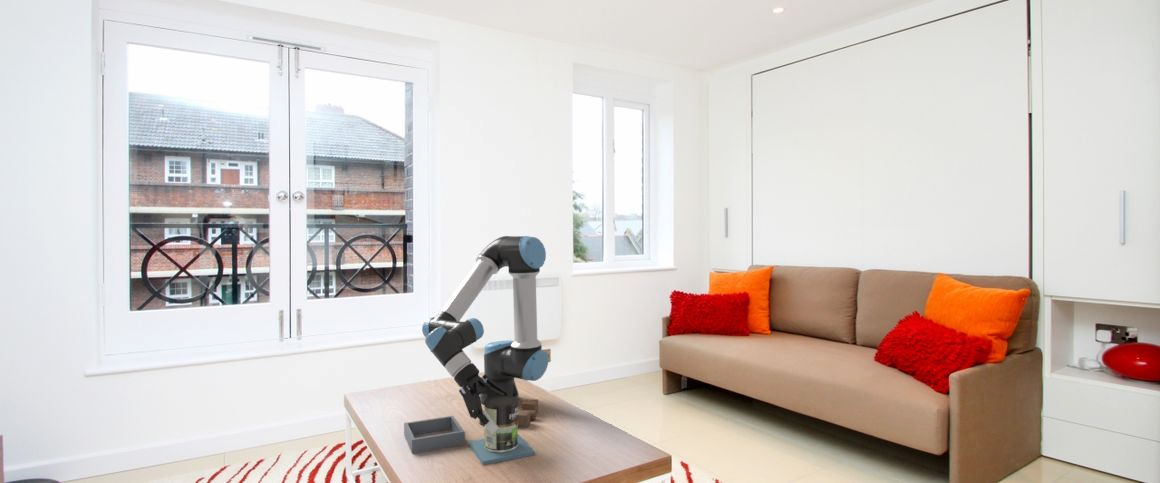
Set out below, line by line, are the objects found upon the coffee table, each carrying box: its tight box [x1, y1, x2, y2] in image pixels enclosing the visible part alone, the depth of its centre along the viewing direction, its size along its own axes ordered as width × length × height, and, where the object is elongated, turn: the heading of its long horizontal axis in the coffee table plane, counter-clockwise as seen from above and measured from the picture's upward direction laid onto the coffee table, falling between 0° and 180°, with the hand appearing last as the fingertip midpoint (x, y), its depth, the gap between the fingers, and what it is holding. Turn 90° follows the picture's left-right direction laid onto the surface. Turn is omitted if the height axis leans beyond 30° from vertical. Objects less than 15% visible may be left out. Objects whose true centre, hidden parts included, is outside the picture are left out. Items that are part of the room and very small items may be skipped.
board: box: [468, 434, 536, 466], centre depth 166 cm, size 16×16×1 cm
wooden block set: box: [478, 399, 539, 429], centre depth 194 cm, size 17×6×18 cm
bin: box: [403, 415, 466, 454], centre depth 174 cm, size 16×16×4 cm
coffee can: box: [483, 396, 519, 453], centre depth 166 cm, size 10×10×14 cm
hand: (506, 423), depth 165 cm, fingers open, 13 cm apart
